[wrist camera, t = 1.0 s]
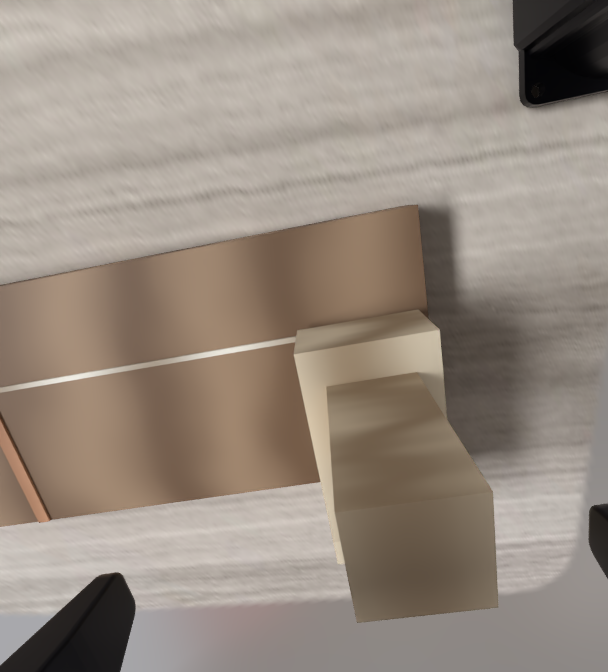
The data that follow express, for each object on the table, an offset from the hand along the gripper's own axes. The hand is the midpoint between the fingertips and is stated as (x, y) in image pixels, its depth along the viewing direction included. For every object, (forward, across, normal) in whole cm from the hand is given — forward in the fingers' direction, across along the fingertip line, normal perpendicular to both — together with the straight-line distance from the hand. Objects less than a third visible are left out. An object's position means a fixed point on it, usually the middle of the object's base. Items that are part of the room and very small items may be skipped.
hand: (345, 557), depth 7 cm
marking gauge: (+12, -1, +3) cm, 12 cm away
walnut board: (+12, +8, 0) cm, 14 cm away
